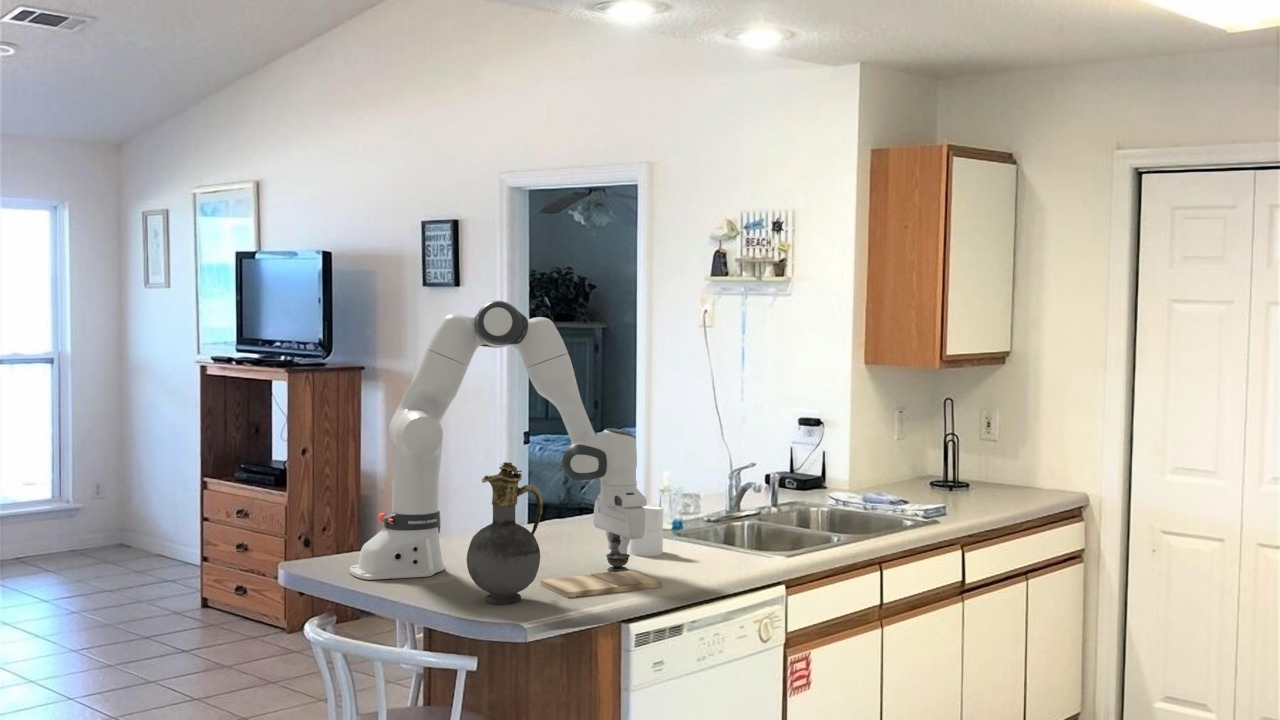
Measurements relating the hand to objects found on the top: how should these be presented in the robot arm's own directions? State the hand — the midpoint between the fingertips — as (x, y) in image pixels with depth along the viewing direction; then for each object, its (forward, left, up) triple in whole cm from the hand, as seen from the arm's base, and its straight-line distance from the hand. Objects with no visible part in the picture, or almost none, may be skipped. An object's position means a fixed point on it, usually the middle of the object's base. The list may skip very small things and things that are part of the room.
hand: (617, 551), depth 303 cm
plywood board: (-12, -14, -4) cm, 19 cm away
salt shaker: (0, 0, -5) cm, 5 cm away
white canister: (+17, +16, -5) cm, 24 cm away
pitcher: (-36, -16, -5) cm, 40 cm away
